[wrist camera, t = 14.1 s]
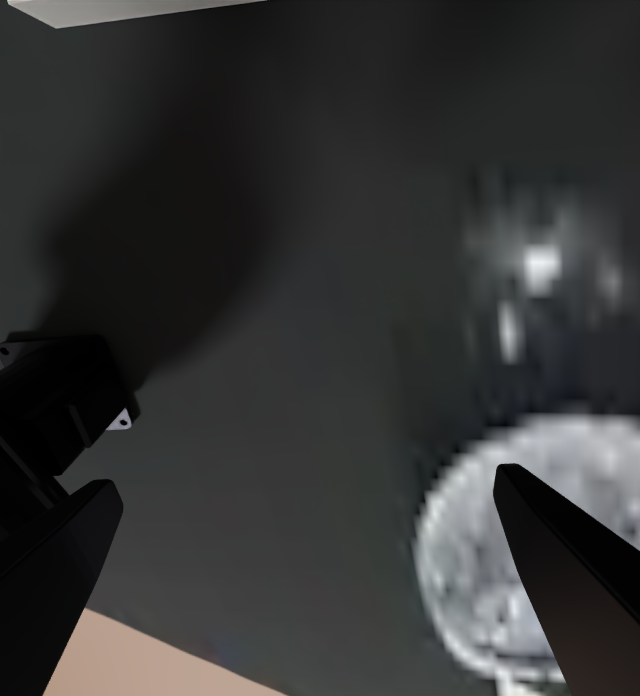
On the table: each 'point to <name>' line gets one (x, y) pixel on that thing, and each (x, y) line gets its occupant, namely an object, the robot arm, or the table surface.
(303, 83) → the table surface
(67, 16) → the notched board
